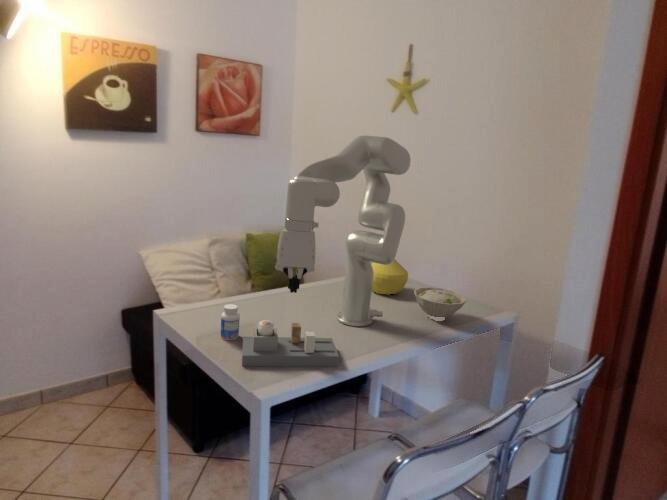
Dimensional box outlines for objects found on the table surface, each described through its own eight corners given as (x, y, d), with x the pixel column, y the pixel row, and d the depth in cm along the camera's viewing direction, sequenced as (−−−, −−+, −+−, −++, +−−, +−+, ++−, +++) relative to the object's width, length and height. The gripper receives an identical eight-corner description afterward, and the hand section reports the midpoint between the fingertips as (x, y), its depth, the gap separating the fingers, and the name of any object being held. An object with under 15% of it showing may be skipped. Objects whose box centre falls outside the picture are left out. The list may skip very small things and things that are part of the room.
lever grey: (312, 348, 132) (314, 331, 131) (313, 353, 129) (315, 336, 128) (304, 348, 132) (305, 331, 131) (305, 352, 129) (306, 335, 128)
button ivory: (272, 333, 133) (273, 320, 132) (272, 339, 129) (273, 325, 128) (258, 333, 132) (258, 319, 131) (258, 339, 128) (259, 325, 127)
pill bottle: (221, 332, 144) (223, 302, 142) (239, 333, 145) (241, 303, 143) (219, 340, 139) (220, 309, 137) (237, 341, 140) (239, 310, 137)
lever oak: (298, 339, 137) (300, 323, 136) (299, 343, 134) (301, 327, 133) (290, 339, 137) (291, 322, 136) (291, 343, 134) (292, 326, 133)
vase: (353, 288, 200) (358, 244, 196) (382, 282, 213) (387, 241, 209) (386, 301, 188) (391, 255, 183) (414, 294, 200) (420, 250, 196)
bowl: (440, 332, 161) (445, 304, 159) (399, 313, 176) (402, 287, 173) (473, 322, 174) (478, 296, 171) (432, 305, 188) (436, 281, 186)
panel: (331, 347, 141) (333, 325, 140) (338, 366, 130) (340, 342, 128) (242, 346, 137) (243, 323, 135) (241, 365, 125) (243, 341, 123)
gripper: (323, 225, 131) (317, 288, 135) (269, 221, 128) (264, 286, 132) (328, 230, 124) (322, 296, 128) (271, 226, 121) (266, 294, 125)
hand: (293, 291), depth 130 cm, fingers closed
